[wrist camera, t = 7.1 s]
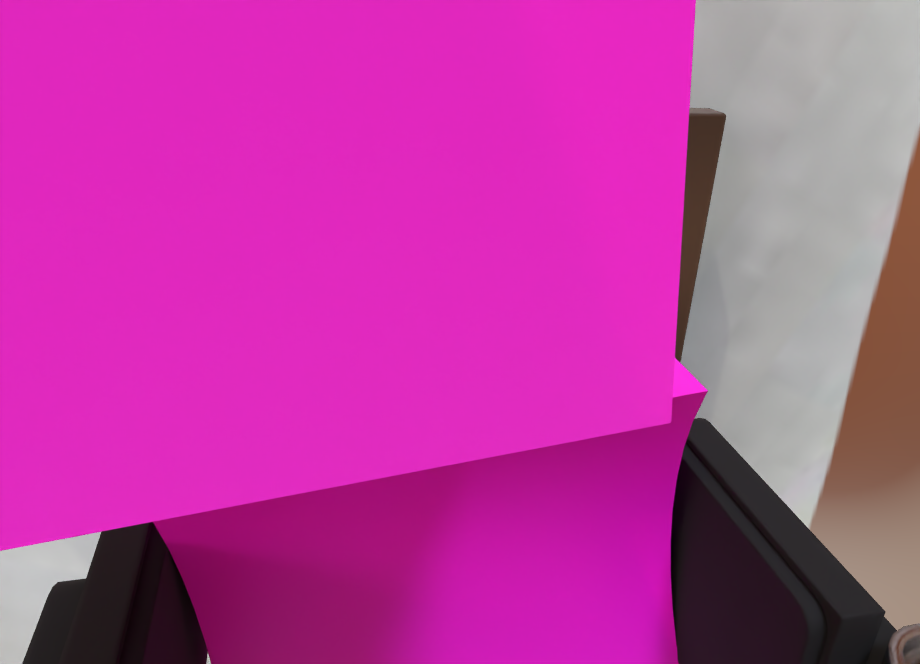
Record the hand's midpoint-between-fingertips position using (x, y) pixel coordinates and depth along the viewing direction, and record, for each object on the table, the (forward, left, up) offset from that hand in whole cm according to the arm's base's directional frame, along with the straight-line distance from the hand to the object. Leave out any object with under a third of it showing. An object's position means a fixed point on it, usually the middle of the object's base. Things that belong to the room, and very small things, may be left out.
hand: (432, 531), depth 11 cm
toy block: (0, 0, -2) cm, 2 cm away
